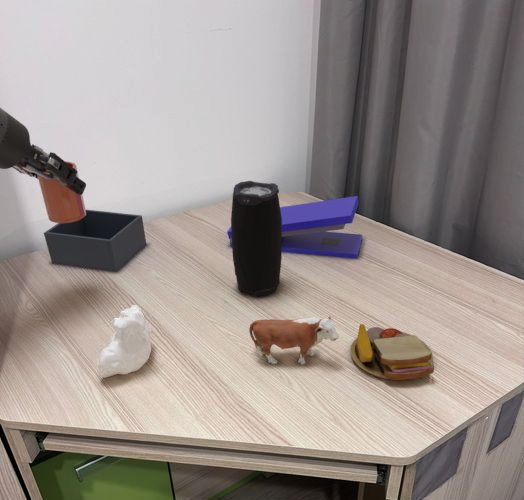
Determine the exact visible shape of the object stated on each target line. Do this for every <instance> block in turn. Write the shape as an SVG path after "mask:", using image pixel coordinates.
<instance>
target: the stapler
mask: <svg viewBox="0 0 524 500" xmlns="http://www.w3.org/2000/svg"><path fill="white" fill-rule="evenodd" d="M359 204H360V203H359V196H358V195H355V196H348V197H341V198H340V197H339V198H333V199H327V200H320V201H314V202H307V203H301V204H300V203H299V204H293V205H285V206H280V211H281V217H282V253H291V254H302V255H312V256H313V255H314V256H323V257H334V258H344V259H345V258H346V259H356V260H357V259H358V258H359V253H360V248H361V245H362V239H363V234H361V233H348V232H337V231H339V230H344V229H345V226H346V225H349V224H352V223H353V222H354V218H355V215H356V212H357V210H358V207H359ZM226 234H227V237H228V239H229V247H230V248H232V233H231V226H230V227H229V229H228V230H227V231H226Z"/></svg>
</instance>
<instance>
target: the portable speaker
mask: <svg viewBox="0 0 524 500" xmlns="http://www.w3.org/2000/svg"><path fill="white" fill-rule="evenodd" d="M279 194H280V189H279V185H277V184H276V183H275V182H274V183H272V182H271V183H266V182H257V181H253V180H246V181H240V182H238V183H236V184H235V185H234V187H233V192H232V201H231V212H230V214H231V216H230V227H231V233H232V247H231V248H232V251H231V252H232V263H233V265H234V266H233V268H234V269H233V270H234V275H235V277H236V283H237V290H238V291H239V293H242V292H244V293H248V294H251V295H254V297H257V298H265V297H269V296H272V295H274V294H276V291H277V288H278V287H279V285H280V281H281V280H280V279H281V268H282V257H283V255H282V254H283V252H282V217H281V211H280V207H281V204H280V199H279Z"/></svg>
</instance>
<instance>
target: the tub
mask: <svg viewBox="0 0 524 500" xmlns="http://www.w3.org/2000/svg"><path fill="white" fill-rule="evenodd" d="M143 220H144V219H143V215H141V214H132V213H123V212H122V213H121V212H114V211H113V212H112V211H104V210H103V211H102V210H95V209H94V210H93V209H86V216H85V217H84V218H82V219H80V220H78V221H75V222H70V223H55V225H53V226H52V227H50V228H49V229H47V230H46V231H44V232H43V236H44V239H45V243H46V247H47V250H48V254H49V258H50V261H51V264H53V265H58V266H59V265H61V266H68V267H74V268H75V267H76V268H82V269H89V270H97V271H103V272H111V273H118V272H119V271H120V270H121V269H122V268H124V266H126V265H127V264H128V263H130V261H131V260H132V259H133V258H134V257H135V256H137V254H139V253H140V252H141V251H142V250H143V249H144V248H145V247H146V246H147V239H146V232H145V226H144V221H143Z"/></svg>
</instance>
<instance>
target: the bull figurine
mask: <svg viewBox="0 0 524 500" xmlns="http://www.w3.org/2000/svg"><path fill="white" fill-rule="evenodd" d="M248 331H249V335H250V338H251V340H252V342H253V344H254V348H255V350H256V352H257V355H258V356H259V357H263V356H265V357H266V359H267V362H268V364H271V365H277V364H278V363H279V361H278V360H277V359H276V358H274V356H273V355H272V351H271V349H272V346H273V345H274V346H277V347H278V348H280V349H281V350H286V349H293V348H299V349H300V350H299V358H298V361H297V362H298V364H300V365H305V364H306V360H305V357H306V356H310V357H313V356H315V352H313V349H312V348H315V347H316V346H317V345H318V344H320V343H322V342H323V340H330V341H331V342H335V341H337V340H338V339H339V337H340V335H339V334H338V333H337V331H336V327H335V324H334V322H333V321H331V315H329V316H328V317H326V318H323V319H321V318H318V317H315V316H310V317H308V318H307V317H302V318H297V319H276V318H275V319H273V318H272V319H257V320H254V321H252V322H251V323H250V326H249V328H248Z"/></svg>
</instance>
